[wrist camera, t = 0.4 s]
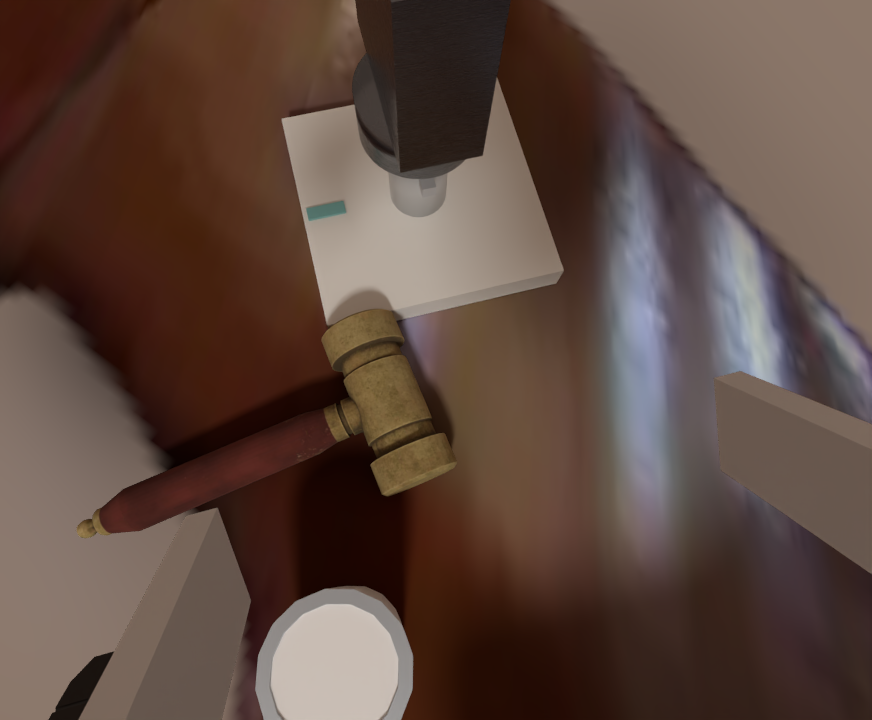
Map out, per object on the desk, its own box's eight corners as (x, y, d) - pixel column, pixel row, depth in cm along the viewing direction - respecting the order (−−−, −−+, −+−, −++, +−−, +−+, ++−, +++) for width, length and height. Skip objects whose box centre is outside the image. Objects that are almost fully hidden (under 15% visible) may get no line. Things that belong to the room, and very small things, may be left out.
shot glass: (263, 658, 31) (220, 697, 24) (340, 548, 32) (319, 556, 26) (366, 738, 30) (351, 802, 23) (439, 621, 32) (445, 649, 25)
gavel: (74, 630, 28) (29, 445, 31) (125, 613, 33) (83, 452, 35) (458, 462, 30) (387, 297, 32) (458, 467, 34) (395, 322, 36)
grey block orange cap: (498, 186, 30) (554, -44, 17) (378, 212, 29) (351, -9, 17) (453, 49, 32) (475, -238, 20) (342, 70, 31) (294, -213, 19)
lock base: (556, 283, 37) (592, 222, 30) (332, 335, 36) (308, 285, 28) (493, 97, 41) (510, 0, 33) (288, 138, 40) (256, 46, 32)
